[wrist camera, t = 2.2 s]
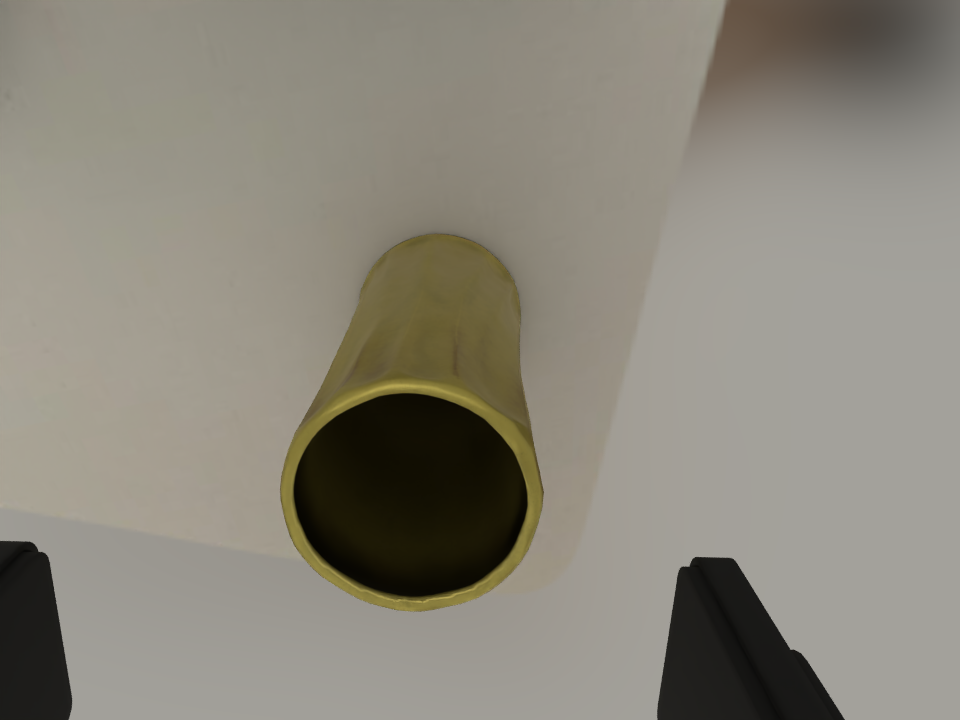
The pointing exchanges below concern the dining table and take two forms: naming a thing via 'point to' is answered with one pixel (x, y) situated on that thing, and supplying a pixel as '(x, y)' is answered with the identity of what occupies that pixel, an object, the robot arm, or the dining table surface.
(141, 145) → the dining table surface
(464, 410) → the vase
